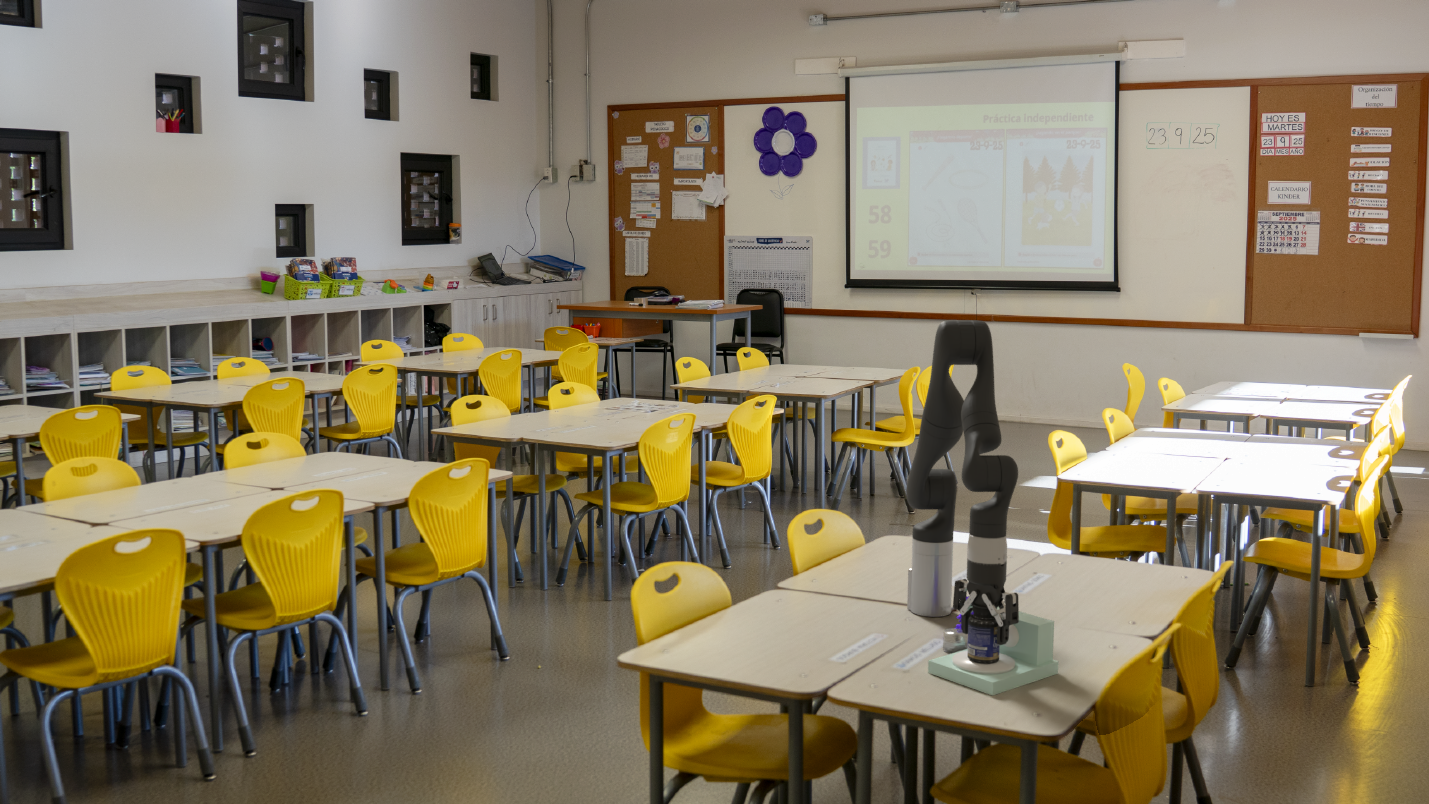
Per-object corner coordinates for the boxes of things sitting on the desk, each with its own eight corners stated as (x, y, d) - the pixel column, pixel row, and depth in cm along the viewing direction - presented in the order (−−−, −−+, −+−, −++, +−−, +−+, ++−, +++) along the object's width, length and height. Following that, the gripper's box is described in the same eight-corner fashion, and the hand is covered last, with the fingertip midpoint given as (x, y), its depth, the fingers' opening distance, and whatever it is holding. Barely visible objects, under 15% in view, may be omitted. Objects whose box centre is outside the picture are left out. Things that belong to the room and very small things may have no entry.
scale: (928, 672, 247) (929, 621, 246) (993, 652, 260) (995, 603, 258) (992, 695, 235) (994, 641, 234) (1058, 673, 247) (1060, 621, 246)
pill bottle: (999, 665, 241) (1001, 610, 240) (967, 663, 243) (968, 608, 241) (998, 655, 247) (1000, 601, 246) (967, 653, 249) (968, 599, 247)
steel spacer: (938, 649, 262) (938, 631, 261) (953, 645, 265) (954, 626, 264) (956, 656, 258) (957, 637, 257) (972, 651, 261) (973, 632, 260)
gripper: (945, 553, 246) (943, 633, 248) (1004, 567, 235) (1001, 651, 237) (971, 547, 250) (968, 626, 252) (1029, 561, 239) (1026, 644, 241)
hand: (984, 638), depth 244 cm, fingers open, 8 cm apart
